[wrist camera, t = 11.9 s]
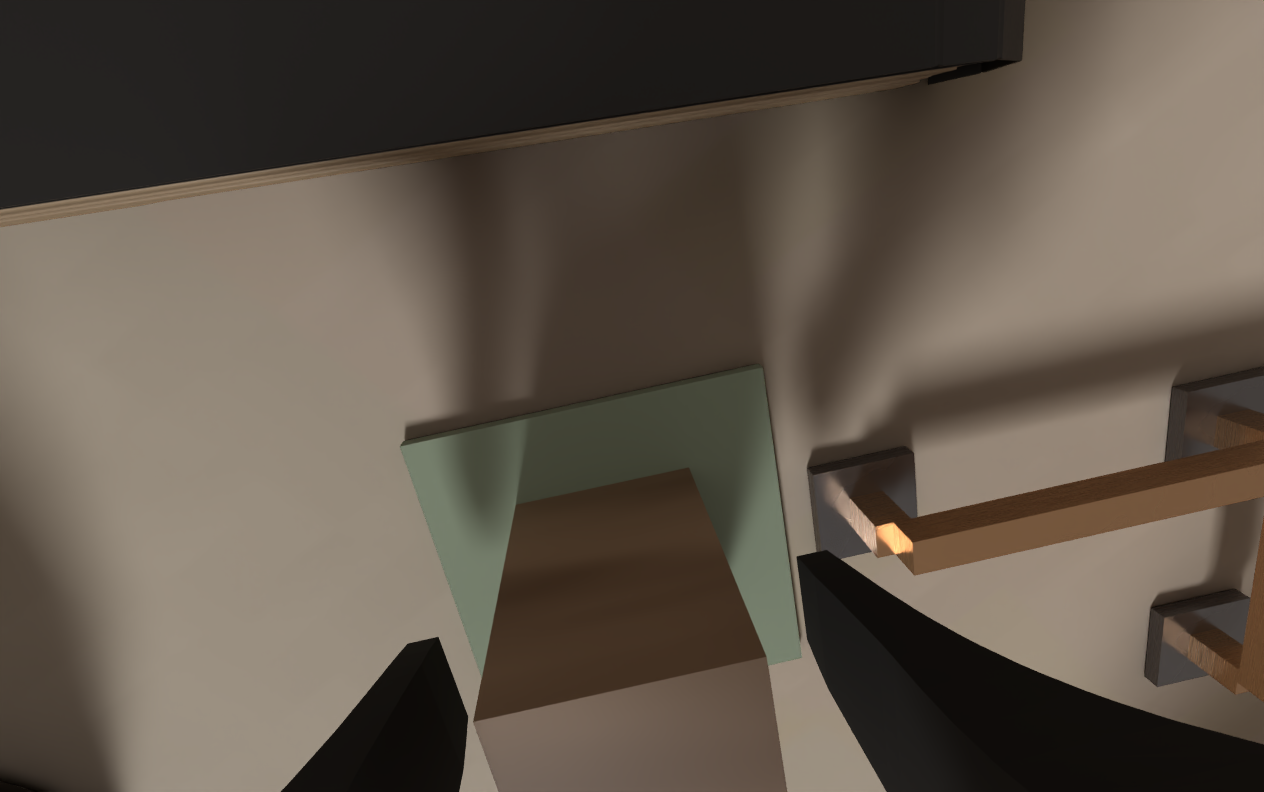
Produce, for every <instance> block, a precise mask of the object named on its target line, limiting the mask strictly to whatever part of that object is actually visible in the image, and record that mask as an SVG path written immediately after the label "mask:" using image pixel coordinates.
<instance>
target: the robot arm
mask: <svg viewBox="0 0 1264 792" xmlns="http://www.w3.org/2000/svg"><path fill="white" fill-rule="evenodd" d="M797 564H798V572H799V579H800V587H801V595H802V603H803V610H804V618H805V626H806V633H807V640H808V642H809V645H810V647H811V650H812V652H813V655H814V657H815V659H816V662H817V664H818V666H819V669H820V671H821V673H822V676H823V678H824V680H825V683H826V685H827V687H828V689H829V691H830V693H831V694H832V696H833V698H834V700H835V702H836V703H837V705H838V707H839V709H840V711H841V712H842V714H843V716H844V718H845V719H846V721H847V723H848V725H849V727H850V728H851V730H852V732H853V734H854V735H855V737H856V739H857V741H858V742H859V744H860V746H861V748H862V749H863V751H864V753H865V755H866V756H867V758H868V760H869V762H870V763H871V765H872V767H873V769H874V770H875V772H876V774H877V776H878V777H879V779H880V781H881V783H882V784H883V786H884V788H885V790H886V791H887V792H1264V745H1263V744H1260V743H1256V742H1252V741H1248V740H1245V739H1241V738H1237V737H1233V736H1230V735H1226V734H1222V733H1218V732H1215V731H1211V730H1207V729H1204V728H1200V727H1196V726H1192V725H1189V724H1185V723H1181V722H1178V721H1174V720H1171V719H1168V718H1164V717H1161V716H1158V715H1155V714H1152V713H1149V712H1146V711H1143V710H1140V709H1137V708H1133V707H1130V706H1127V705H1124V704H1121V703H1118V702H1115V701H1112V700H1110V699H1107V698H1104V697H1101V696H1098V695H1096V694H1093V693H1090V692H1087V691H1084V690H1082V689H1079V688H1077V687H1074V686H1072V685H1069V684H1067V683H1064V682H1062V681H1059V680H1057V679H1054V678H1052V677H1049V676H1047V675H1044V674H1041V673H1039V672H1037V671H1034V670H1032V669H1030V668H1028V667H1025V666H1023V665H1021V664H1018V663H1016V662H1014V661H1012V660H1010V659H1008V658H1006V657H1003V656H1001V655H999V654H997V653H995V652H993V651H991V650H989V649H987V648H985V647H982V646H980V645H978V644H976V643H974V642H972V641H971V640H969V639H967V638H965V637H963V636H961V635H959V634H957V633H955V632H954V631H952V630H950V629H948V628H947V627H945V626H943V625H941V624H939V623H938V622H936V621H934V620H932V619H931V618H929V617H927V616H925V615H924V614H922V613H920V612H919V611H917V610H916V609H914V608H912V607H911V606H909V605H908V604H906V603H904V602H903V601H901V600H900V599H898V598H897V597H895V596H893V595H892V594H890V593H889V592H887V591H886V590H884V589H883V588H881V587H880V586H878V585H877V584H875V583H874V582H872V581H871V580H870V579H868V578H867V577H865V576H864V575H862V574H861V573H859V572H858V571H857V570H855V569H854V568H852V567H851V566H849V565H848V564H847V563H845V562H844V561H842V560H841V559H839V558H838V557H836V556H835V555H833V554H832V553H830V552H829V551H828V550H824V551H819V552H815V553H810V554H806V555H801V556H797ZM467 724H468V715H467V712H466V710H465V707H464V704H463V702H462V699H461V696H460V694H459V691H458V688H457V685H456V683H455V680H454V677H453V675H452V672H451V669H450V667H449V664H448V661H447V659H446V656H445V653H444V651H443V648H442V645H441V643H440V640H439V637H436V638H431V639H427V640H422V641H418V642H413V643H409V644H407V645H406V646H405V648H404V649H403V650H402V651H401V652H400V653H399V654H398V656H397V657H396V658H395V659H394V660H393V662H392V663H391V664H390V665H389V666H388V668H387V669H386V670H385V671H384V673H383V674H382V675H381V676H380V678H379V679H378V680H377V681H376V682H375V684H374V685H373V686H372V687H371V689H370V690H369V691H368V692H367V694H366V695H365V696H364V697H363V698H362V700H361V701H360V702H359V703H358V704H357V706H356V707H355V708H354V709H353V710H352V712H351V713H350V714H349V715H348V717H347V718H346V719H345V720H344V721H343V723H342V724H341V725H340V726H339V727H338V729H337V730H336V731H335V732H334V733H333V734H332V736H331V737H330V738H329V739H328V740H327V741H326V742H325V743H324V744H323V746H322V747H321V748H320V749H319V750H318V751H317V752H316V753H315V755H314V756H313V757H312V758H311V759H310V760H309V761H308V762H307V764H306V765H305V766H304V767H303V768H302V769H301V770H300V771H299V772H298V774H297V775H296V776H295V777H294V778H293V779H292V780H291V781H290V782H289V784H288V785H287V786H286V787H285V788H284V789H283V790H282V791H281V792H459V789H460V785H461V780H462V775H463V768H464V759H465V749H466V737H467Z"/></svg>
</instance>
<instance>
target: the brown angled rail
mask: <svg viewBox="0 0 1264 792" xmlns="http://www.w3.org/2000/svg"><path fill="white" fill-rule="evenodd" d="M807 473H808V481H809V490H810V499H811V507H812V516H813V524H814V533H815V541H816V550H817V552H819V551H824V550H828V551H829V552H830V553H832V554H833V555H835V556H836V557H838V558H839V559H842V558H846V557H850V556H855V555H859V554H864V553H868V552H873V553H874V554H875V555H876V557H877V558H880V557H884V556H888V555H893V554H896V555H897V556H898V558H899V559H900V560H901V561H902V562H903V563H904V564H905V565H906V567H907V568H908V569H909V570H910V571H911V572H912V573H913V575H919V574H923V573H928V572H932V571H937V570H941V569H945V568H950V567H954V566H959V565H963V564H968V563H972V562H976V561H981V560H985V559H990V558H994V557H999V556H1003V555H1007V554H1012V553H1016V552H1021V551H1025V550H1030V549H1034V548H1038V547H1043V546H1047V545H1052V544H1056V543H1061V542H1065V541H1070V540H1074V539H1078V538H1083V537H1087V536H1092V535H1096V534H1101V533H1105V532H1109V531H1114V530H1118V529H1123V528H1127V527H1132V526H1136V525H1140V524H1145V523H1149V522H1154V521H1158V520H1163V519H1167V518H1171V517H1176V516H1180V515H1185V514H1189V513H1194V512H1198V511H1203V510H1207V509H1211V508H1216V507H1220V506H1225V505H1229V504H1234V503H1238V502H1242V501H1247V500H1251V499H1256V498H1260V497H1264V367H1261V368H1256V369H1252V370H1247V371H1243V372H1238V373H1234V374H1229V375H1225V376H1220V377H1216V378H1211V379H1207V380H1202V381H1198V382H1193V383H1189V384H1184V385H1180V386H1175V387H1172V397H1171V408H1170V418H1169V428H1168V439H1167V449H1166V459H1165V462H1162V463H1157V464H1153V465H1148V466H1144V467H1139V468H1135V469H1131V470H1126V471H1122V472H1117V473H1113V474H1108V475H1104V476H1099V477H1095V478H1090V479H1086V480H1081V481H1077V482H1072V483H1068V484H1063V485H1059V486H1055V487H1050V488H1046V489H1041V490H1037V491H1032V492H1028V493H1023V494H1019V495H1014V496H1010V497H1005V498H1001V499H996V500H992V501H988V502H983V503H979V504H974V505H970V506H965V507H961V508H956V509H952V510H947V511H943V512H938V513H934V514H929V515H925V516H921V517H917V501H916V482H915V463H914V453H913V452H912V451H911V450H909V449H908V448H907V447H905V446H904V447H900V448H895V449H891V450H886V451H882V452H877V453H873V454H868V455H864V456H859V457H855V458H850V459H846V460H841V461H837V462H832V463H828V464H823V465H819V466H814V467H810V468H807ZM1249 604H1250V606H1249ZM1248 611H1249V612H1248ZM1247 617H1248V618H1247ZM1246 623H1247V624H1246ZM1245 629H1246V631H1245ZM1244 636H1245V637H1244ZM1243 642H1244V643H1243ZM1207 675H1210V676H1211V677H1213V678H1214V679H1215V680H1217V681H1218V682H1219V683H1221V684H1222V685H1223V686H1225V687H1226V688H1227V689H1229V690H1230V691H1231V692H1233V693H1234V694H1235V695H1236V694H1240V693H1244V692H1251V693H1252V694H1253V695H1255V696H1256V697H1257V698H1259V699H1260V700H1262V701H1263V702H1264V518H1263V524H1262V531H1261V537H1260V543H1259V549H1258V556H1257V562H1256V568H1255V574H1254V581H1253V587H1252V593H1251V599H1250V597H1248V596H1246V595H1245V594H1243V593H1241V592H1240V591H1238V590H1236V589H1233V590H1228V591H1224V592H1220V593H1215V594H1211V595H1206V596H1202V597H1198V598H1193V599H1189V600H1184V601H1180V602H1176V603H1171V604H1167V605H1163V606H1158V607H1154V608H1151V615H1150V626H1149V636H1148V647H1147V657H1146V667H1145V677H1146V678H1147V679H1148V680H1150V681H1151V682H1152V683H1153V684H1154V685H1155V686H1157V687H1159V686H1163V685H1168V684H1172V683H1176V682H1181V681H1185V680H1189V679H1194V678H1198V677H1202V676H1207Z"/></svg>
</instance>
